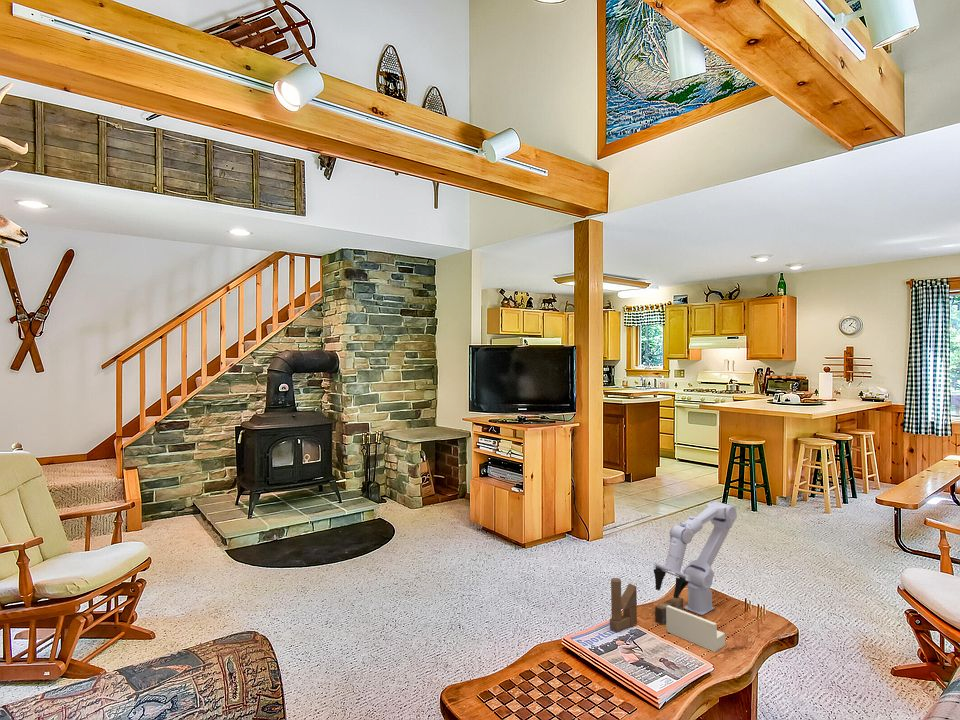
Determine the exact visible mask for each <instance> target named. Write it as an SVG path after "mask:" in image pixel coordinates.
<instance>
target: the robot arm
mask: <svg viewBox="0 0 960 720" xmlns="http://www.w3.org/2000/svg"><path fill="white" fill-rule="evenodd" d="M737 517H738V515H737V509H736V507H735V506H734V505H733V504H727V503H723V502H719V501H715V500H710V501H709V502H708V503H706V508H705V509H704V510H702V511H701V512H700V513H699V514H698V515H697V516H692V515H691V516H690V515H689V517H688V519H686V520H684V521H683V522H681V523H680V524H679V525H678V524H675V525H673V526H672V527H671V528H670V530H669V534H668V535H669V546H668V547H669V548H668V551H667V556H666V560H665V564H664V565H663V564H660V563H657V562H653V566H652V567H653V574H654V578H655V580H654V581H655V590H656V591H661V588H662V585H663V583H662V582H663V581H664V578H665V576H666V574H670V575H672V576H675V587H674V591H673V597H674V598H678V597H680V595H681V593H682V592H683V590H684V589H685V587H686V586H687V605H684V606H683V610H686V611H690V612H692V613H695V614H697V615H700V616H704V615H706V614H707V613H709V612H711V611H712V610H714V609H715V607H714V606H713V592H712V591H713V590H712V589H711V587H712V584H713V580H714V579H713V578H714V577H715V572H714V570H713V569H712V565H713V563H714V561H715V560H716V557H717V555H718V553H719V551H720V549H721V547H722V545H723V544H724V541H725V540H726V538H727V536H728V535H729V532H730V530H731V528H732V527H733V525H734V523H735V522H736V519H737ZM709 521H710V522H711V524H712V525H713V526H714V527H713V529H712V530H711V533H710V535H709V536H708V537H707V540H706V542H705V544H704V546H703V548H702V549H701V551H700V553H699V556H698V557H697V559H694V560H691V561H689V562H688V565H687V566H685V568H684V569H683V570H682V565H683V563H684V558H685V553H686V549H687V545H688V544H689V543H691V542H692V540H693V538H694V536H695V535H696V534H697V533H699V532H700V531H702V529H703V525H704V524H707V522H709ZM681 570H682V571H681Z"/></svg>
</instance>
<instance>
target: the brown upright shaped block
mask: <svg viewBox="0 0 960 720" xmlns="http://www.w3.org/2000/svg"><path fill="white" fill-rule="evenodd" d="M610 593H611V594H610V597H611V598H610V599H611V604H610V606H611V607H610V608H611V609H610V610H611V614H610V615H611V618H609V629H610V628H611V629H610V630H612V631H614V632H615V631H616V632H615V633H618V631H619V632H621V631H624V630H626V629H628V628H630V627H631V628H632V627H634V626H637V625H638V615H637V613H638V611H637V605H638V602H637V601H638V600H637V598H638V597H637V596H638V595H637V593H638V592H637V586H636V585H635V584H632V583H629V582H628V584H627V586H626V587H625V590H624V592H623V593H622V579H621V578H618V577H613V578H611V579H610ZM622 611H623V614H622ZM623 629H624V630H623Z"/></svg>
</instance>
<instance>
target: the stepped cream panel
mask: <svg viewBox="0 0 960 720" xmlns="http://www.w3.org/2000/svg"><path fill="white" fill-rule="evenodd" d="M665 626H666V628H665V629H666V632H667V633H669V634H672V635H674V636H677V637H679V638H681V639H683V640H686V641H688V642H691V643H693V644H695V645H697V646H700V647H702V648H705V649H707V650H709V651H711V652H713V653H715V652H717V651H719V650H721V648H723V647H725V646H726V633H725V632H723V631H721V630H718V629H717V628H718V627H717V626H718V625H717V623H716V622H714V621H712V620H709V619H706V618H703V617H701V616H698V615H695V614H692V613H690V612H688V611H685V610H684V609H683V610H680V609H677V608H675V607H672V606H670V605H668V606H666V625H665Z"/></svg>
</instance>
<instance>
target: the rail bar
mask: <svg viewBox="0 0 960 720" xmlns="http://www.w3.org/2000/svg"><path fill="white" fill-rule="evenodd" d="M668 605H670V606H672V607H675V608H677V609H680V610H683V611H684V608H683V607H684V598H682V597H681V596H679V597H678V598H674V596H673V597H671V598H669V599H668V600H665V601H664V602H661V603H659V604H657V605H655V607H654V619H655V620H654V621H655V623H657V624H659V625H660V626H664V625H665V624H666V606H668Z"/></svg>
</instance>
